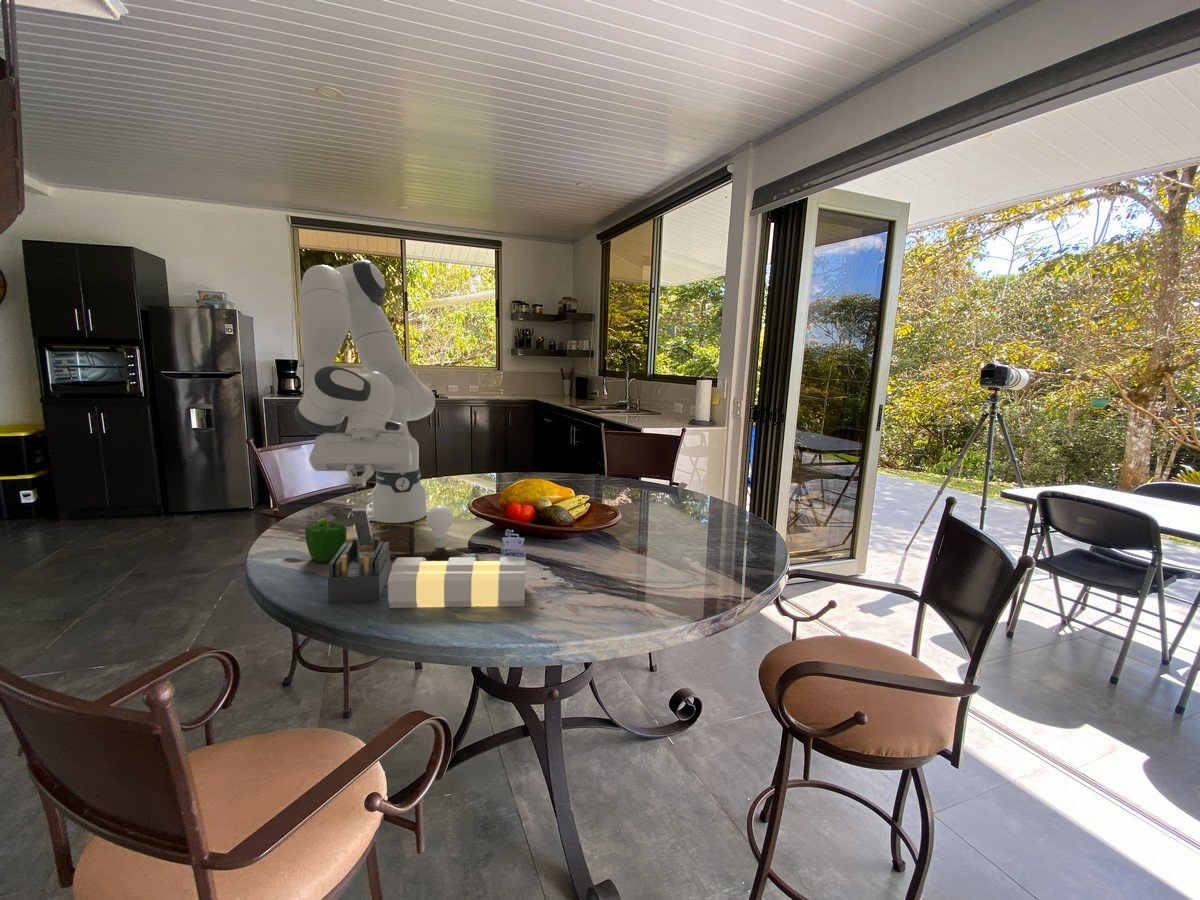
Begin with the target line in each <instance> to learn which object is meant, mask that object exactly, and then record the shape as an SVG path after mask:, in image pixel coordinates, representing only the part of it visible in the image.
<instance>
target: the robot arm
mask: <svg viewBox="0 0 1200 900" xmlns="http://www.w3.org/2000/svg"><path fill="white" fill-rule="evenodd" d="M386 289H387V285H386V281H385V277H384V276H383V273H382V272H381V270H380V269H379V268H378V267H377V265H376V264H375V263H374V262H372V261H370V260H368V259H361V260H356V261H355V260H354V261H353V262H352V263H349V264H345V265H341V266H338V267H335V268H334V267H332V266H329V265H325V264H318V265H317V264H316V265H312V266H311V267H309V268H308V269H307V270H306V271H305V272H304V274H303V276H302V279H301V284H300V292H299V307H300V320H301V331H302V349H303V350H302V351H303V353H302V354H303V357H302V358H303V359H302V394H301V398H300V400H299V402H298V403H297V405H296V406H295V408H294V413H293V415H294V419H295V420H296V423H297V424H298V425H299V426H300V427H301V428H303V429H304V430H305V431H307V432H309V433H311V434H314V435H318V436H316V437H315V439H314V444H313V448H312V449H311V452H310V453H309V454H310V455H309V459H308V461H309V464H310V466H311V468H312V469H313V470H314V471H316V472H346V473H347V475H348V477H349V478H348V485H349V486H348V487H350V488H365V487H366V484H367V482H368V481H369V479H370V478H372V476H373V475H374V473H375V472H376V473H375V481H376V484H375V486H374V488H373V490H372V491H371V492H368V493H367V502H370V503H368V504H367V505H366V507H365V508H366V509H367V514H368V519H369V522H371V521H372V522H378V523H387V524H397V523H398V524H400V523H402V524H404V523H410V522H415V521H418V520H422V519H423V518H425V517H427V513H428V511H429V510H430V509H431V508H428V507H427V495H426V492H427V491H426V487H425V486H424V485H422V483H421V475H422V473H421V469H420V468H419V467H420V466H419V463H420V462H419V458H420V456H419V454H420V452H419V449H420V448H419V447H420V446H419V443H418V441H417V439H416V438H414V437H413V436H412V435H411V433H410V431H409V428H408V423H407V422H410V421H418V420H421V419H423V418H426V417H428V416H429V415H430V414H432V413H433V412H434V409H435V407H436V396H435V394H434V392H433V390H431V389H430V387H428V386H427V385H425V384H423V382H422V381H421V380H420V379H419V377H417V375H416V374H415V373H414V371H412V369H411V367H410V366H409V364H408V363H407V361H406V360H405V358H404V356H403V353H402V351H401V348H400V346H399V343H398V340H397V338H396V335H395V332H394V331H393V328H392V325H391V323H390V321H389V319H388V317H387V315H386V313H385V312H384V309H383V308H382V307H381V305H382V304H383V303H384V300H383V299H384V298H385V294H386ZM349 331H350V334H351V338H352V342H353V344H354V346H355V349H356V352H357V355H358V357H359V360H360V362H361V365H362V367H363V369H364V371H365V372H354V371H351V370H349V369H347V368H344V367H339V366H335V365H334V363H335V360H336V358H337V355H338V353H339V351H340V348H341V347H342V345H343V343H344V341H345V339H346V338H347V335H348V333H349ZM345 417H347V418H348V420H347V424H346V428H345V431H344V432H338V430H340V428H341V426H342V424H343V422H344V419H345ZM356 472H363V473H362V475H359V476H357V475H356ZM354 475H355V476H354Z"/></svg>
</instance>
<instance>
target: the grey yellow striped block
mask: <svg viewBox="0 0 1200 900" xmlns="http://www.w3.org/2000/svg"><path fill="white" fill-rule="evenodd" d="M514 531H515V530H513V529H511V530H510V529H505V533H504V535H505V536H507V537H502V542H503V545H504V547H502V548H500V549H501V550H500V551H501V556H500V559H499V560H477V558H476V557H473V556H471V557H470V556H469V557H467V556H465V557H464V556H463V557H459V556H458V557H455V556H453V557H451V556H450V557H449V558H448V560H439V561H438V560H430V561H429V560H427V558H425V557H421V556H420V557H419V556H418V557H415V556H414V557H411V556H410V557H407V556H406V557H402V556H401V557H400V556H399V557H396V558H395V560H394V561H393V563H392V564H391V568H390V574H389V579H388V581H387V599H388V604H389V609H390V608H393V609H394V608H399V609H400V608H456V607H457V608H460V607H461V608H463V607H464V608H466V607H467V608H468V607H475V608H476V606H477V607H478V606H479V607H524V606H525V598H526V597H525V594H526V563H527V562H526V559H527V556H526V555H527V553H523V550H526V549H527V548H526V547H525V548H523V546H524V543H525V540H526V539H525V537H520V534H518V533H514ZM511 536H513V537H511ZM514 536H517V537H514ZM507 542H508V543H507ZM517 550H518V553H516V552H517ZM520 553H521V554H522V556H521V554H520ZM506 554H509V556H506ZM513 554H515V555H513Z"/></svg>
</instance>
